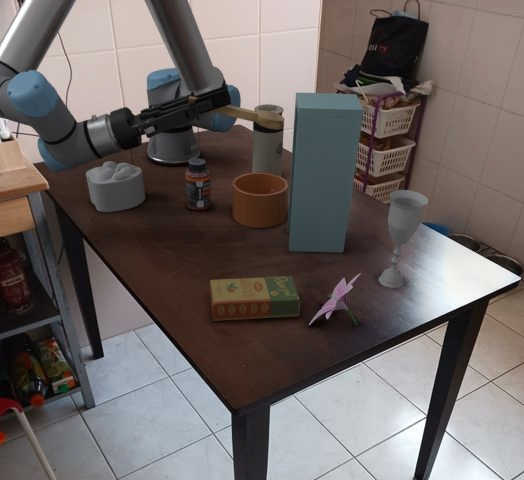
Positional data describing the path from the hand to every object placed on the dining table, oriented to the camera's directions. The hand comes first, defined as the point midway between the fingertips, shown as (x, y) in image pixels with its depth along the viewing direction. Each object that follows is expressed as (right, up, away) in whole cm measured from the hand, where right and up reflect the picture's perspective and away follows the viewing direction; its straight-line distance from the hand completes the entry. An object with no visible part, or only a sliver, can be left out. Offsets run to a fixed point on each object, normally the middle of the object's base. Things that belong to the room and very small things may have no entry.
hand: (228, 94), depth 104 cm
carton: (+5, -41, -2) cm, 42 cm away
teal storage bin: (+18, -24, +18) cm, 36 cm away
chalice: (+33, -35, +7) cm, 49 cm away
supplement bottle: (-9, -14, +30) cm, 34 cm away
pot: (+6, -16, +27) cm, 32 cm away
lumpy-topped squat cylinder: (-29, -12, +31) cm, 45 cm away
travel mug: (+8, -2, +45) cm, 46 cm away
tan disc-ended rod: (+1, -3, +3) cm, 4 cm away
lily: (+20, -44, -4) cm, 48 cm away
